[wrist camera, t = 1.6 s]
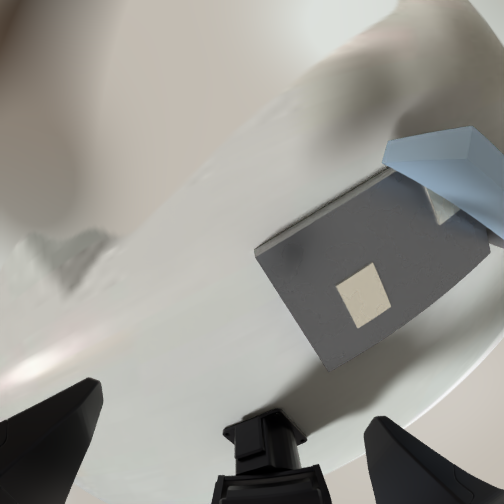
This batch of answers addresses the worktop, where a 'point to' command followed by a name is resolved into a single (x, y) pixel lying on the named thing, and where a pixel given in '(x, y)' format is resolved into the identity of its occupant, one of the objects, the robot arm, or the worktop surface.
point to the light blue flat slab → (456, 172)
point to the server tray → (371, 263)
